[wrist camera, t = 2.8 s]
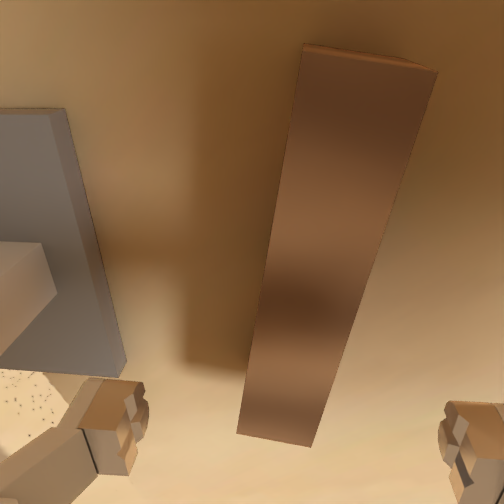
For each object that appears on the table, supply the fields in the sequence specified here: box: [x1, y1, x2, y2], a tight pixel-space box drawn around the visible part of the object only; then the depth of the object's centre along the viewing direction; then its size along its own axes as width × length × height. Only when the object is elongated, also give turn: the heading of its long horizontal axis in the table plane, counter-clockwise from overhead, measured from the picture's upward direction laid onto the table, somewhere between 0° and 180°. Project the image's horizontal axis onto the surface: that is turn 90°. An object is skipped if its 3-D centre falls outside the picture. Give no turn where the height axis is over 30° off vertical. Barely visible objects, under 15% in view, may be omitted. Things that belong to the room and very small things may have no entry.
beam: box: [236, 43, 438, 448], centre depth 16 cm, size 16×4×4 cm, turn 173°
